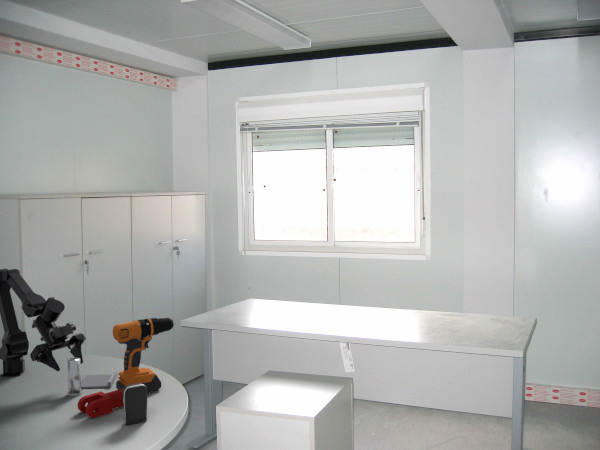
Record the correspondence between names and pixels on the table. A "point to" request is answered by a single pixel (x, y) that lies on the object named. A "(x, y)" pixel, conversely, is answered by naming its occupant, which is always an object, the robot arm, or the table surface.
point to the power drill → (139, 350)
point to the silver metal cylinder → (74, 377)
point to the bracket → (99, 381)
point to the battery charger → (134, 403)
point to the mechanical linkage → (100, 403)
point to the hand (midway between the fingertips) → (70, 366)
